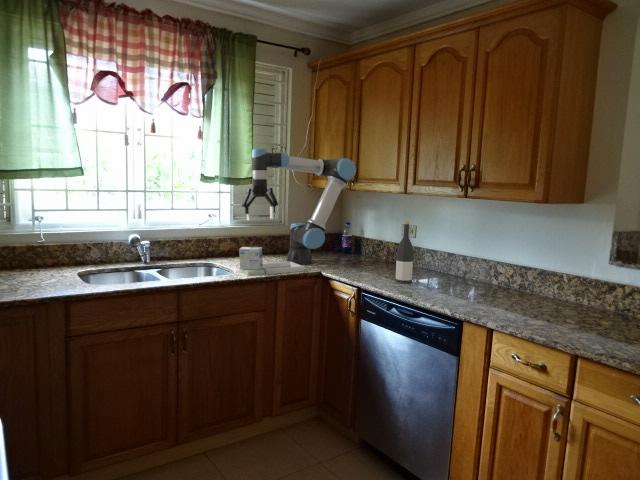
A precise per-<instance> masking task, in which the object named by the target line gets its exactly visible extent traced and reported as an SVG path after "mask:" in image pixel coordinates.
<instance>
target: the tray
mask: <svg viewBox="0 0 640 480" xmlns="http://www.w3.org/2000/svg"><path fill="white" fill-rule="evenodd" d="M261 269H263V270H265V274H266V275H273V274H284V273H297V272H305V265H299V264H296V263H293V262H287V261H278V262H265V263H264V262H263V267H262V268H261ZM265 274H264V275H265Z"/></svg>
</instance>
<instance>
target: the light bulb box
mask: <svg viewBox="0 0 640 480" xmlns="http://www.w3.org/2000/svg"><path fill="white" fill-rule="evenodd" d="M238 251H239V253H238V254H239V267H240V269H258V270H260V269H261V268H262V267H263V263H264V262H263V259H264V258H263V247H262V246H242V247H240V248H239V250H238Z"/></svg>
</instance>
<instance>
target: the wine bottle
mask: <svg viewBox="0 0 640 480" xmlns="http://www.w3.org/2000/svg"><path fill="white" fill-rule="evenodd" d="M409 234H410V221H409V220H404V224H403V237H402V239H401V241H400V242H399V244H398V246H397V248H396V249H397V250H396V264H395V282H396V283H398V284H405V285H406V284H412V282H413V268H414V267H413V266H414V265H413V264H414V248H413V244H412V241H411V239H410V235H409Z"/></svg>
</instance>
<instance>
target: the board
mask: <svg viewBox="0 0 640 480" xmlns="http://www.w3.org/2000/svg"><path fill="white" fill-rule="evenodd" d="M238 272H240V273H243V274H244V275H246V276H260V275H265V270H263V269H260V270H258V269H240V266H238Z"/></svg>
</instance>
